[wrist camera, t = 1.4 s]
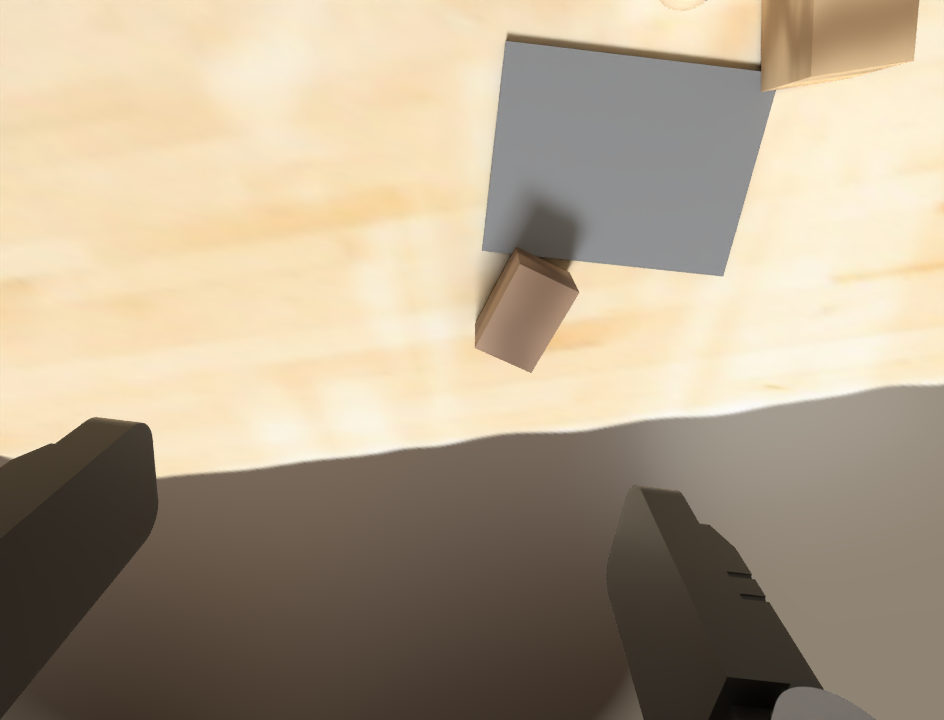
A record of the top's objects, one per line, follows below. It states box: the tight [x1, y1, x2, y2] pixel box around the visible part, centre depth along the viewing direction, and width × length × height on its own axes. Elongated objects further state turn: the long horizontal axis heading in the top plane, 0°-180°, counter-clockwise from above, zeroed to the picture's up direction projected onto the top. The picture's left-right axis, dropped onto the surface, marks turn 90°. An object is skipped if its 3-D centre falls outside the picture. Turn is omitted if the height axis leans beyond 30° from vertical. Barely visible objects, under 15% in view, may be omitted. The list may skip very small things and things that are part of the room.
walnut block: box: [475, 247, 579, 373], centre depth 36 cm, size 4×6×4 cm, turn 154°
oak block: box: [761, 0, 919, 92], centre depth 29 cm, size 5×5×5 cm
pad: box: [482, 41, 776, 276], centre depth 34 cm, size 12×16×1 cm
